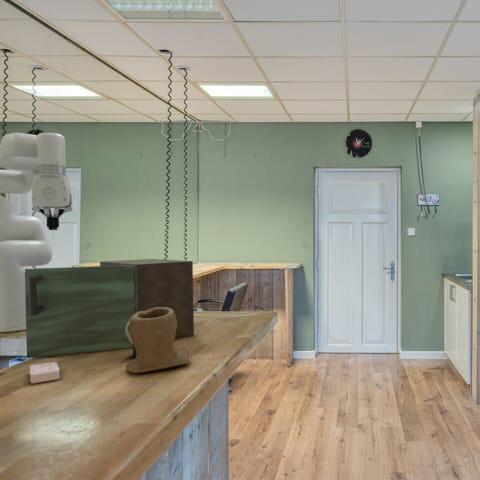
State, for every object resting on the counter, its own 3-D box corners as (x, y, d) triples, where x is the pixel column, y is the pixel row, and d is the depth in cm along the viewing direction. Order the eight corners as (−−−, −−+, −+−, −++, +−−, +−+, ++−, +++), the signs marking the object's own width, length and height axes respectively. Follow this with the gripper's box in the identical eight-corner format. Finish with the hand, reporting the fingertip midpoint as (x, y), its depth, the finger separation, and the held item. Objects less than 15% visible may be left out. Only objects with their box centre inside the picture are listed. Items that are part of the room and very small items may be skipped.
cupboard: (138, 346, 136) (136, 264, 135) (101, 335, 152) (99, 261, 152) (193, 335, 149) (192, 261, 149) (154, 326, 166) (153, 258, 166)
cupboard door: (134, 352, 128) (132, 266, 128) (19, 364, 118) (17, 270, 117) (135, 346, 135) (134, 265, 135) (27, 357, 125) (25, 268, 124)
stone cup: (129, 381, 104) (128, 315, 103) (123, 368, 114) (122, 308, 113) (198, 369, 112) (197, 308, 112) (187, 358, 122) (186, 302, 122)
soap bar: (30, 384, 102) (30, 373, 102) (29, 375, 109) (29, 364, 109) (59, 380, 105) (59, 369, 105) (56, 370, 112) (56, 360, 112)
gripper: (19, 170, 141) (21, 230, 141) (75, 171, 145) (76, 229, 146) (28, 173, 148) (29, 230, 148) (81, 174, 153) (82, 229, 153)
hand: (53, 229), depth 147 cm, fingers closed
